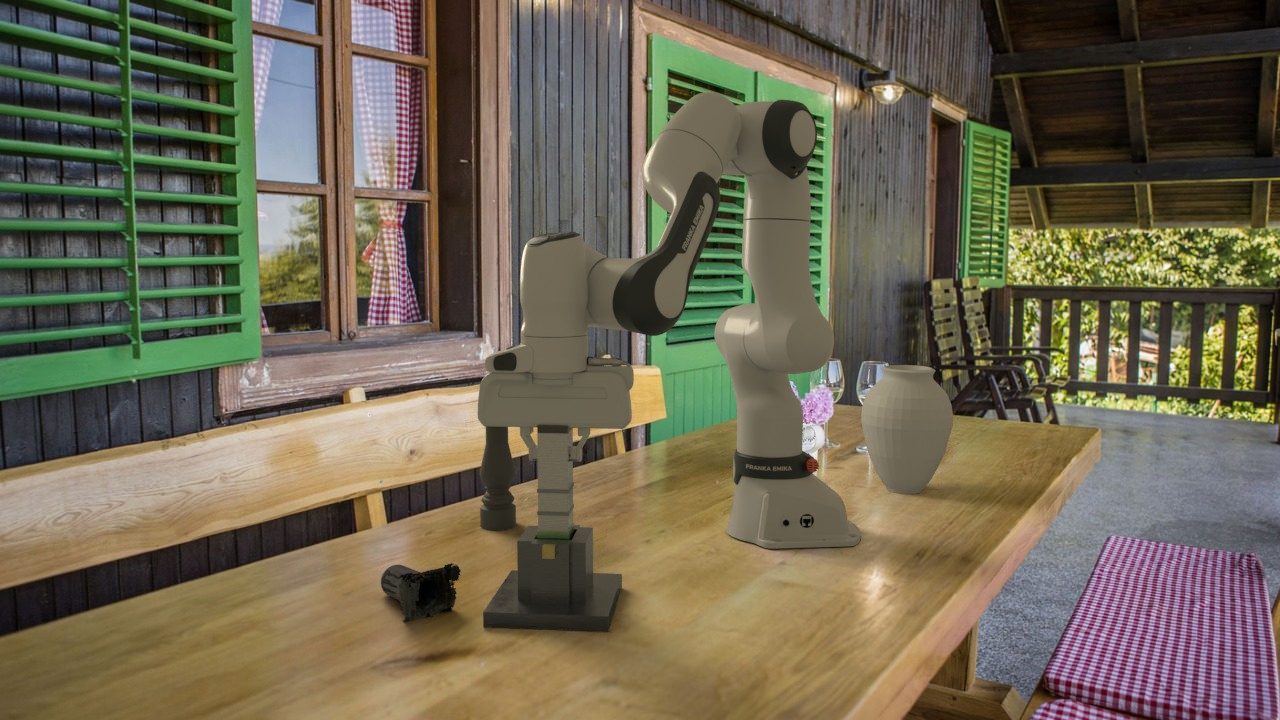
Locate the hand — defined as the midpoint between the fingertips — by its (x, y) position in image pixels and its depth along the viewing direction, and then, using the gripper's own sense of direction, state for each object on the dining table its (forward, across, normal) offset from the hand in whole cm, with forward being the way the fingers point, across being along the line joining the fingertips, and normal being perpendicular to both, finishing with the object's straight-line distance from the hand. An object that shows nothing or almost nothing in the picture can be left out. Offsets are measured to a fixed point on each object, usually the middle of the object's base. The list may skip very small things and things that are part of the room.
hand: (555, 460), depth 124 cm
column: (+12, 0, 0) cm, 12 cm away
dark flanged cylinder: (+20, +20, +1) cm, 28 cm away
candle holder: (+20, +17, -37) cm, 45 cm away
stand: (+20, 0, 0) cm, 20 cm away
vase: (+20, -59, -70) cm, 94 cm away
